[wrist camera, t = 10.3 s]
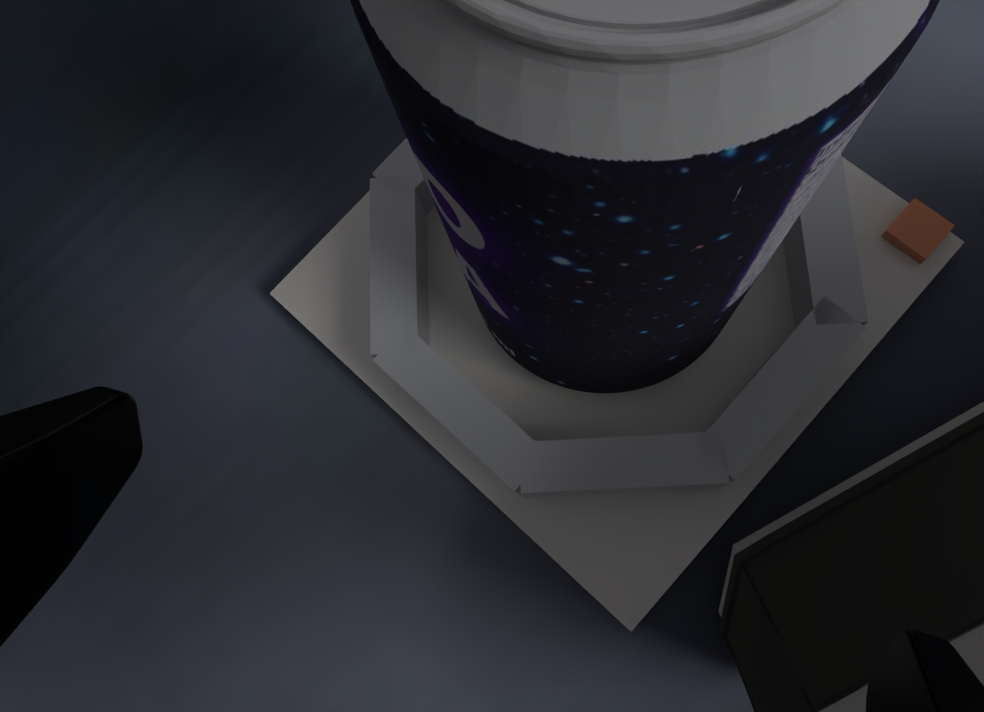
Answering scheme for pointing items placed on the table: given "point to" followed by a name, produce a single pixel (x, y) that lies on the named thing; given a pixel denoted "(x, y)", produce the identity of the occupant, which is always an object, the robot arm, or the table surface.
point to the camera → (862, 575)
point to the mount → (626, 415)
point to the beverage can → (626, 156)
